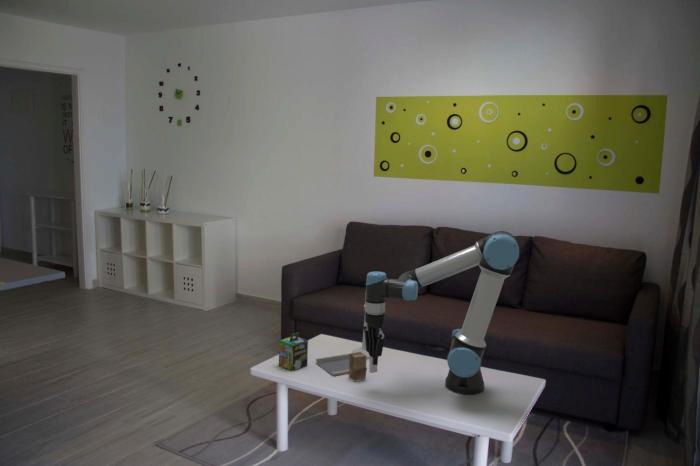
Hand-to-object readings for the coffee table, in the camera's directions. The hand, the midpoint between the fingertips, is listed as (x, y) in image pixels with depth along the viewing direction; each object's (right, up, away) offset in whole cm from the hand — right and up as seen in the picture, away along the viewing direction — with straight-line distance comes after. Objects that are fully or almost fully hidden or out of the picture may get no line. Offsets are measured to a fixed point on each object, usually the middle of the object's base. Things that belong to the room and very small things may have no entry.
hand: (373, 371), depth 222 cm
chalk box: (-33, -3, +24) cm, 41 cm away
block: (-6, -5, +12) cm, 14 cm away
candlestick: (-2, -2, +41) cm, 41 cm away
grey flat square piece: (-13, -4, +24) cm, 27 cm away
